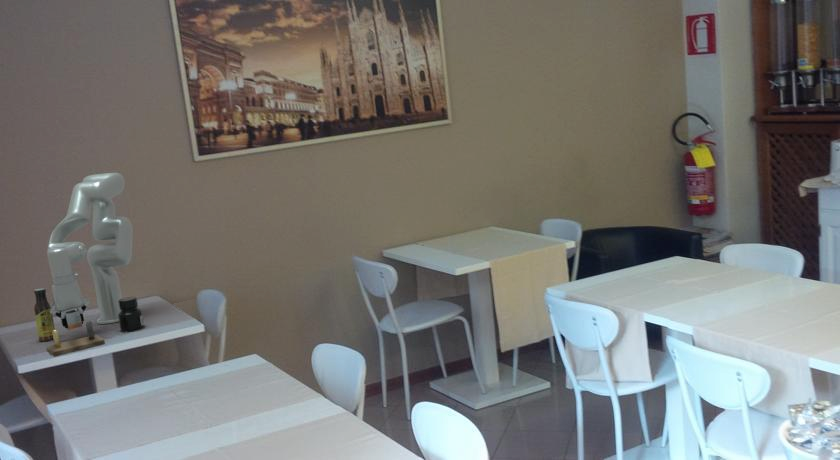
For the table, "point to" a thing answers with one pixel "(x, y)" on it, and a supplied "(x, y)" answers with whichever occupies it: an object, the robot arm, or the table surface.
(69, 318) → the sleeve
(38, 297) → the sauce bottle
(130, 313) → the ink bottle
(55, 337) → the brass pin
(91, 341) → the pin board
